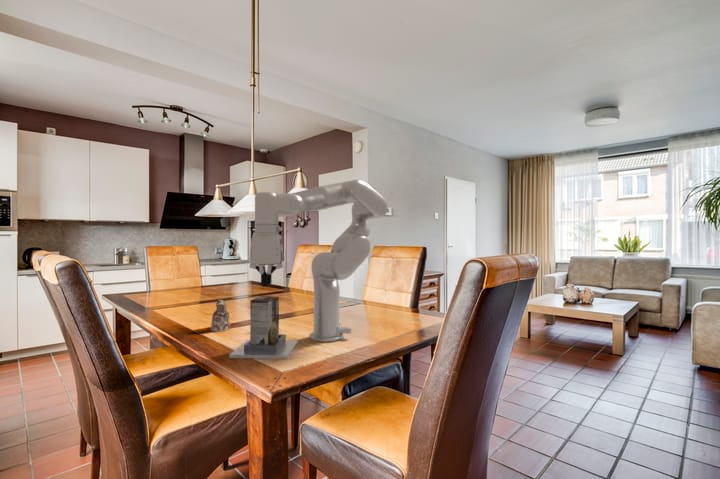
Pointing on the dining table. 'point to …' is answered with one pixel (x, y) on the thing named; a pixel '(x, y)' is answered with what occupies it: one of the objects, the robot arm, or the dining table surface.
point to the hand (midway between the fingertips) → (266, 286)
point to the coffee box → (264, 320)
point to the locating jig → (266, 349)
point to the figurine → (220, 318)
